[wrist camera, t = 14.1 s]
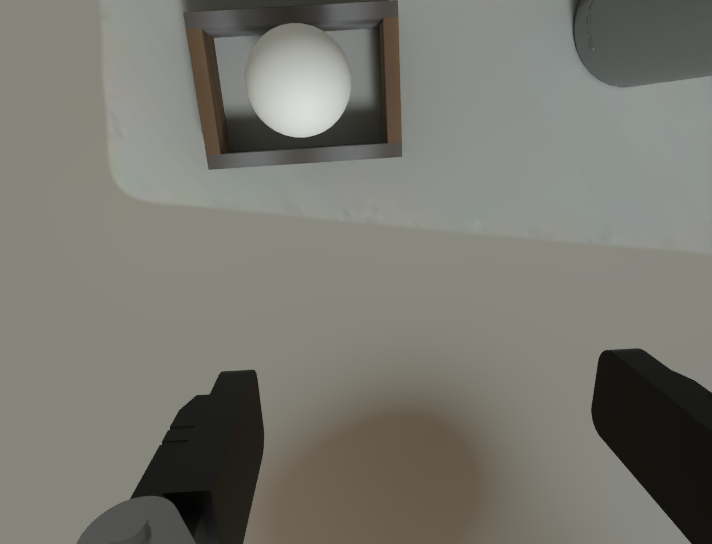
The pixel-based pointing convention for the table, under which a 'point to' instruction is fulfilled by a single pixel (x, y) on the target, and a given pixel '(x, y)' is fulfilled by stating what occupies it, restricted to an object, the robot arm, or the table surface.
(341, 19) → the brown wooden shallow box
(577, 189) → the table surface
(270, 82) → the lightbulb
